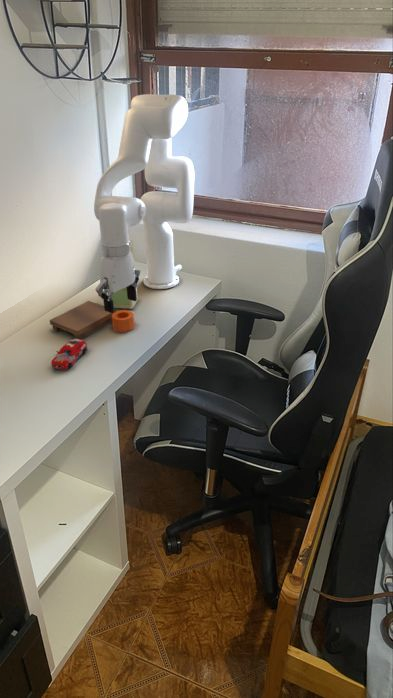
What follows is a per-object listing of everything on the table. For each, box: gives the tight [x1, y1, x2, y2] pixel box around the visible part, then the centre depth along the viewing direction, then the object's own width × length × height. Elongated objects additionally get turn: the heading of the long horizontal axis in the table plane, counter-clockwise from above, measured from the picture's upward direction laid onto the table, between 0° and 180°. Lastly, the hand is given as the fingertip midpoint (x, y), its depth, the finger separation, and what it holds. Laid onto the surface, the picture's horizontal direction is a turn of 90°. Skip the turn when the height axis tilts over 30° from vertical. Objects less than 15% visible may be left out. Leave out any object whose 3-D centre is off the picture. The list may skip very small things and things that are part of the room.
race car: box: [50, 338, 88, 371], centre depth 142 cm, size 13×5×4 cm, turn 160°
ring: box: [111, 309, 136, 333], centre depth 157 cm, size 6×6×4 cm
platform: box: [49, 300, 117, 340], centre depth 159 cm, size 16×12×4 cm
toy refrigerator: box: [107, 239, 139, 310], centre depth 166 cm, size 8×7×21 cm
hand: (121, 305), depth 154 cm, fingers open, 9 cm apart
